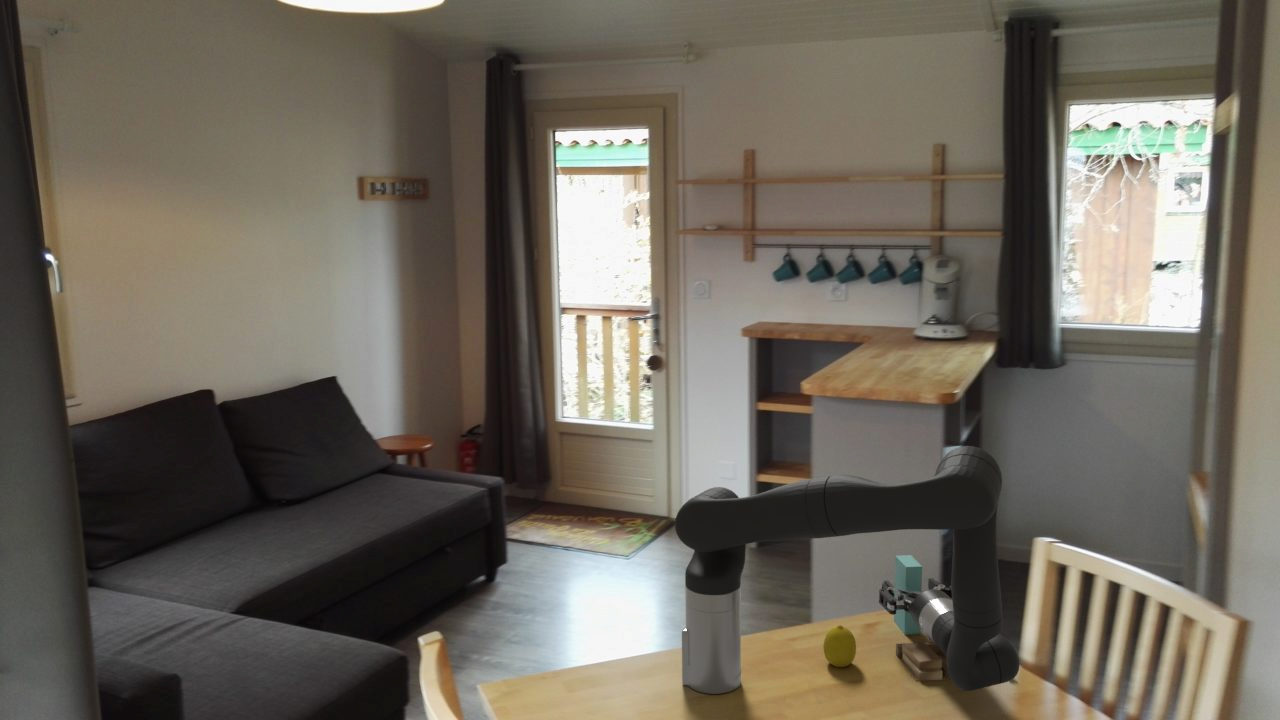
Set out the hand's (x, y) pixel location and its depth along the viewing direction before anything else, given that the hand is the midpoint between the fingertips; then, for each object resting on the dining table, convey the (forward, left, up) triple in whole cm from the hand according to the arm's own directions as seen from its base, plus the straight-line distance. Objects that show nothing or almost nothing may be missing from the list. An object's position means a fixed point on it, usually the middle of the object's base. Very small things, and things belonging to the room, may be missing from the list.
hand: (907, 584), depth 187 cm
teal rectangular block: (0, 0, -9) cm, 10 cm away
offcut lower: (+5, -16, -8) cm, 19 cm away
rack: (+9, -13, -9) cm, 19 cm away
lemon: (-9, -19, -10) cm, 23 cm away
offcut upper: (+5, -16, -7) cm, 18 cm away
